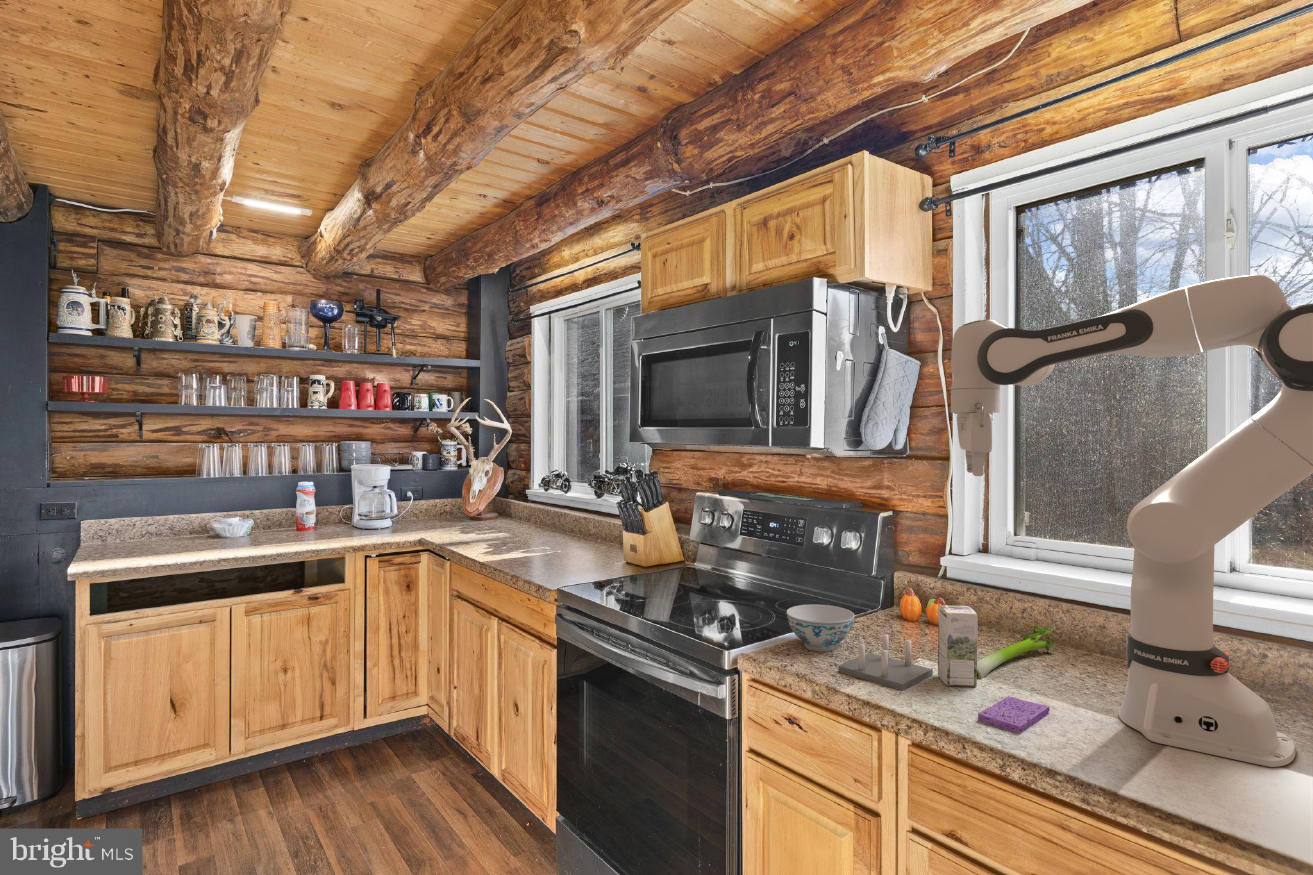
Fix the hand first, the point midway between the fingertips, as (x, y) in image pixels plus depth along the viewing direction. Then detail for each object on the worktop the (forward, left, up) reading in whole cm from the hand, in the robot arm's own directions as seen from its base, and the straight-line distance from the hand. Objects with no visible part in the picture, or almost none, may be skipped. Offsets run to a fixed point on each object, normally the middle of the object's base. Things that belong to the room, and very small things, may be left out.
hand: (974, 474), depth 138 cm
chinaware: (+32, +6, -41) cm, 52 cm away
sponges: (-13, +14, -41) cm, 45 cm away
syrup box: (+1, +5, -41) cm, 41 cm away
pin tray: (+13, +11, -40) cm, 44 cm away
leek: (-2, -15, -41) cm, 44 cm away
